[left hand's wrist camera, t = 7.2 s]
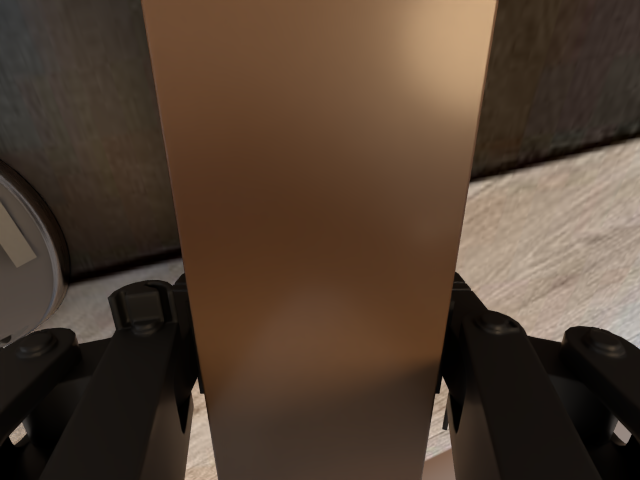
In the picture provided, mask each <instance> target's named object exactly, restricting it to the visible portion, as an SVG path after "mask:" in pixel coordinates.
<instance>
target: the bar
mask: <svg viewBox="0 0 640 480" xmlns="http://www.w3.org/2000/svg"><path fill="white" fill-rule="evenodd" d="M498 2H499V0H141V5H142V11H143V17H144V24H145V30H146V36H147V42H148V48H149V54H150V61H151V67H152V73H153V79H154V85H155V92H156V98H157V104H158V110H159V116H160V123H161V129H162V135H163V141H164V147H165V153H166V160H167V166H168V172H169V178H170V184H171V191H172V197H173V203H174V209H175V215H176V222H177V228H178V234H179V240H180V246H181V253H182V259H183V265H184V271H185V277H186V283H187V290H188V296H189V302H190V308H191V314H192V321H193V327H194V333H195V339H196V345H197V352H198V358H199V364H200V370H201V376H202V382H203V389H204V395H205V401H206V407H207V413H208V420H209V426H210V432H211V438H212V444H213V451H214V457H215V463H216V469H217V475H218V480H421V479H422V473H423V467H424V461H425V454H426V448H427V442H428V436H429V430H430V423H431V417H432V411H433V405H434V399H435V392H436V386H437V380H438V374H439V368H440V361H441V355H442V349H443V343H444V337H445V330H446V324H447V318H448V312H449V306H450V299H451V293H452V287H453V281H454V275H455V268H456V262H457V256H458V250H459V244H460V237H461V231H462V225H463V219H464V213H465V206H466V200H467V194H468V188H469V182H470V175H471V169H472V163H473V157H474V150H475V144H476V138H477V132H478V126H479V119H480V113H481V107H482V101H483V95H484V88H485V82H486V76H487V70H488V64H489V57H490V51H491V45H492V39H493V33H494V26H495V20H496V14H497V8H498Z"/></svg>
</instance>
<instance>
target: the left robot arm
mask: <svg viewBox="0 0 640 480" xmlns="http://www.w3.org/2000/svg"><path fill="white" fill-rule="evenodd" d="M69 277H70V262H69V255H68V250H67V246H66V242H65V239H64V237H63V234H62V232H61V229H60V227H59V225H58V223H57V221H56V219H55V218H54V216H53V214H52V213H51V211H50V209H49V208H48V207H47V205H46V204H45V202H44V201H43V200H42V198H41V197H40V196H39V195H38V194H37V192H36V191H35V190H34V189H33V188H32V187H31V186H30V185H29V184H28V183H27V182H26V181H25V180H24V179H23V178H22V177H21V176H20V175H19V174H18V173H17V172H15V171H14V170H13V169H12V168H10V167H9V166H8V165H6V164H5V163H4V162H2V161H1V160H0V480H184V478H185V470H186V463H187V455H188V447H189V439H190V431H191V423H192V416H193V408H194V405H193V399H192V393H191V390H192V388H193V386H194V384H195V382H196V379H197V377H198V382H199V388H200V394H204V389H203V382H202V376H201V370H200V364H199V358H198V352H197V345H196V339H195V333H194V327H193V321H192V314H191V308H190V302H189V296H188V290H187V283H186V277H185V273H184V274H182V275H181V276H180V277H179V279H178V280H177V281H176V282H175V285H173V286H172V285H171V284H169V283H168V282H165V281H161V280H146V281H141V282H135V283H132V284H129V285H126V286H124V287H122V288H120V289H118V290H116V291H114V292H113V293H112V294H111V295H110V296H109V297H108V300H109V304H110V308H111V312H112V316H113V320H114V323H115V327H116V331H115V333H114V335H113V337H111V338H107V339H103V340H97V341H92V342H87V343H82V344H78V341H77V338H76V335H75V333H74V332H73V331H72V330H70V329H66V328H52V329H43V330H41V331H36V332H33V333H30V332H31V331H33V330H34V329H35V328H36V327H38V326H39V325H40V324H41V323H43V322H44V321H45V320H47V319H48V318H49V317H50V316H51V315H52V314H53V313H54V312H55V311H56V310H57V309H58V307H59V306H60V304H61V303H62V301H63V299H64V296H65V294H66V291H67V288H68V283H69ZM28 333H30V334H29V335H27V334H28ZM25 335H27V336H25ZM24 336H25V337H24ZM14 341H15V342H14ZM12 342H13V343H12ZM10 343H12V344H10ZM8 344H10V345H8ZM5 345H8V346H7V347H5V348H4V349H3V346H5ZM442 376H443V378H444V380H445V383H446V385H447V387H448V389H449V393H448V399H447V404H446V410H445V415H444V421H443V428H442V429H444V430H447V427H448V423H449V430H450V438H451V446H452V454H453V461H454V469H455V477H456V480H640V349H639V348H637V347H636V346H635V345H633V344H632V343H630V342H628V341H627V340H625V339H624V338H622V337H620V336H617V335H615V334H613V333H611V332H609V331H607V330H604V329H599V328H595V327H585V326H576V327H570V328H569V329H568V330H566V331H565V334H564V337H563V340H562V343H561V342H556V341H551V340H546V339H540V338H535V337H531V336H527V334H526V332H525V330H524V329H523V327H522V326H521V325H520V324H519V323H518V322H517V321H515V320H514V319H512V318H511V317H509V316H507V315H504V314H502V313H499V312H495V311H491V310H488V309H487V308H486V307H485V306H484V304H483V303H482V302H481V301H480V299H479V298H478V297H477V296H476V295H475V293H474V292H473V291H471V288H470V287H469V286H468V285H467V284H465V281H464V280H463V279H462V278H461V276H460V275H459V274H458V273H457V272H455V275H454V281H453V287H452V293H451V299H450V306H449V312H448V318H447V324H446V330H445V337H444V343H443V349H442V355H441V361H440V368H439V374H438V380H437V386H436V392H435V394H439V393H440V387H441V381H442ZM618 420H619V421H620V422H621V423H622V424H623V425H624V426H625V427H626V428H627V430H628V431H629V432H630V433H631V434H632V435H631V437H630V439H629V441H628V443H627V444H625V443H624V442H623V441H622V440H620V439H619V438H618V437H617V435H616V434H615V433H614V432H613V431H614V429H615V427H616V424H617V422H618ZM21 422H22V423H23V425H24V428H25V430H26V432H27V434H26V435H25V436H24V437H23V438H22V439H21V440H20V441H19V442H18V443H17V444H15V445H13V444H12V442H11V440H10V438H9V435H10V434H11V433H12V432H13V431H14V430H15V429H16V428H17V427H18V426H19V425H20V424H21Z"/></svg>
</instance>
